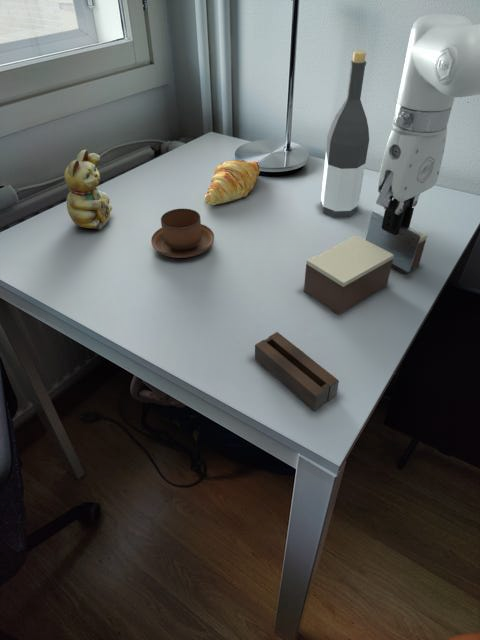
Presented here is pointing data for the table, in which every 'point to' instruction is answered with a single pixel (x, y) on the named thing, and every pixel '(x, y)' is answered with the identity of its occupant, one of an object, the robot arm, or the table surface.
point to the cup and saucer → (182, 234)
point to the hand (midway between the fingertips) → (395, 228)
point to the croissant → (232, 181)
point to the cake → (347, 273)
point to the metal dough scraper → (395, 239)
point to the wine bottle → (346, 149)
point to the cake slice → (417, 254)
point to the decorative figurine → (86, 192)
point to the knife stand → (296, 370)
